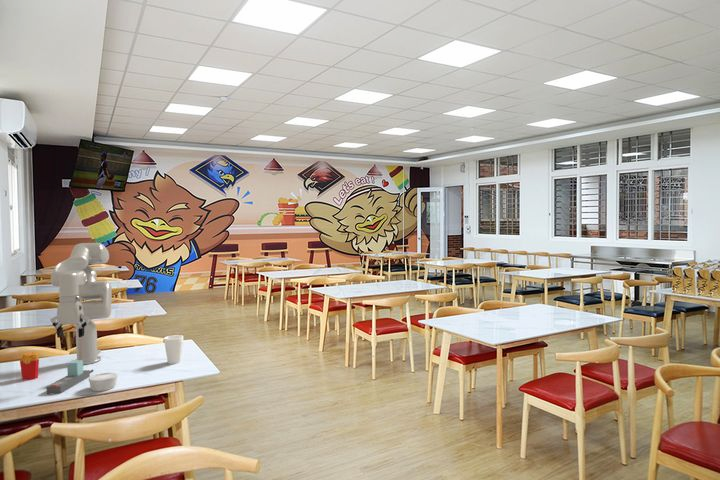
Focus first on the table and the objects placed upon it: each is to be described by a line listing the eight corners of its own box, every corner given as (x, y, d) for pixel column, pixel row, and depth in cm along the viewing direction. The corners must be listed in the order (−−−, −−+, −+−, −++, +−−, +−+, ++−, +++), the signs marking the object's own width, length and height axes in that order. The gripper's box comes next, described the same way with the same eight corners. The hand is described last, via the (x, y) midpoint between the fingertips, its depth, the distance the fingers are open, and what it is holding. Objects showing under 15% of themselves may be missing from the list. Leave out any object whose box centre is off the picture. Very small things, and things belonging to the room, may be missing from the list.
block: (73, 377, 220) (73, 360, 220) (83, 377, 220) (82, 360, 220) (67, 380, 215) (67, 363, 215) (77, 380, 216) (77, 362, 215)
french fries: (18, 379, 221) (17, 354, 220) (25, 376, 225) (24, 351, 224) (36, 379, 220) (34, 354, 220) (42, 377, 224) (41, 351, 224)
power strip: (86, 371, 232) (86, 364, 232) (98, 371, 232) (98, 363, 232) (46, 393, 202) (46, 385, 202) (60, 393, 202) (60, 385, 202)
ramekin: (111, 382, 216) (110, 370, 216) (122, 387, 209) (122, 375, 209) (84, 389, 207) (84, 377, 207) (95, 394, 200) (94, 382, 200)
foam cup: (183, 363, 242) (183, 338, 242) (164, 365, 239) (163, 340, 239) (184, 358, 251) (183, 334, 251) (165, 360, 248) (164, 336, 248)
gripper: (92, 297, 219) (94, 334, 220) (55, 298, 219) (57, 335, 220) (83, 300, 211) (84, 338, 212) (44, 301, 212) (46, 339, 212)
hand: (70, 336), depth 216 cm, fingers open, 9 cm apart
